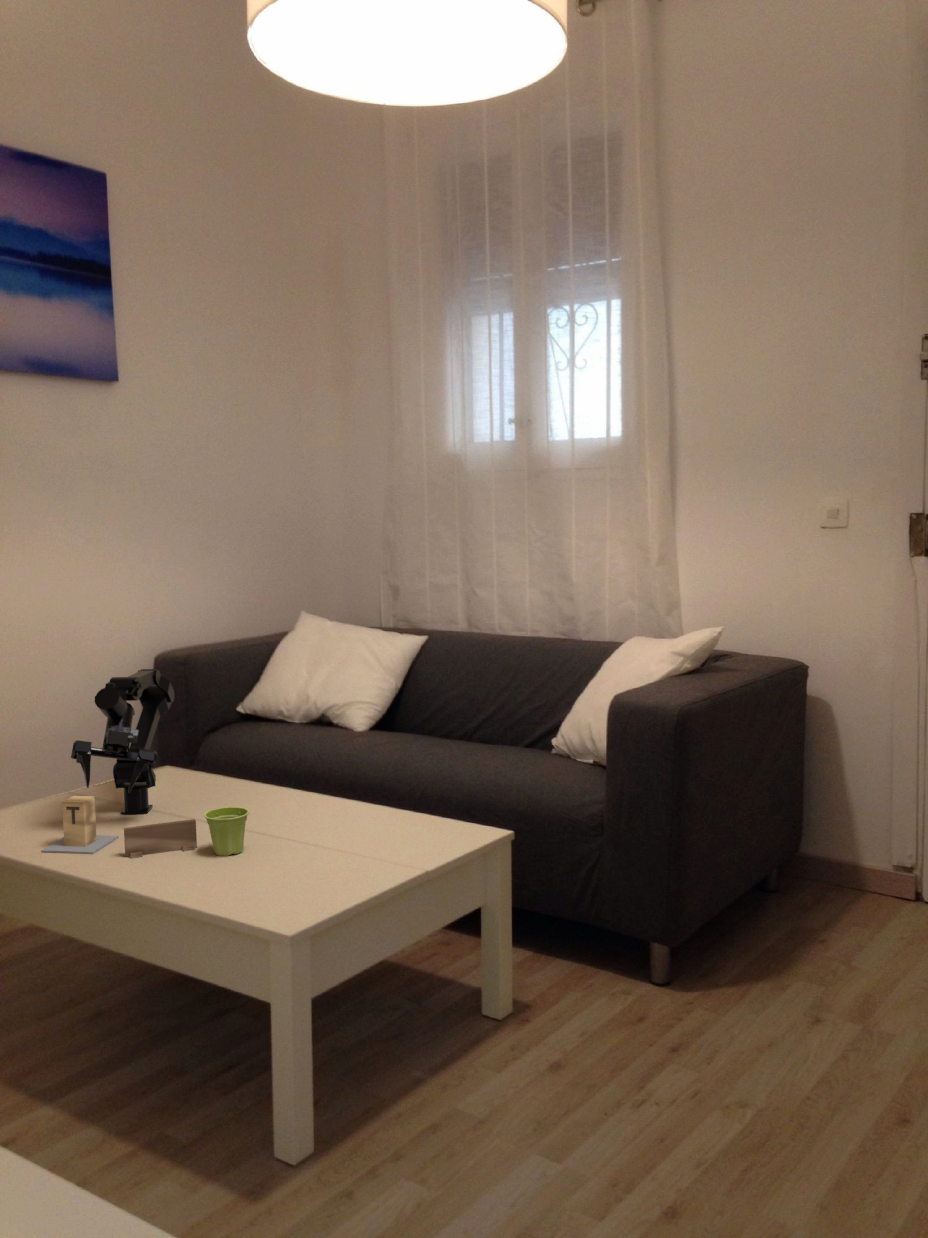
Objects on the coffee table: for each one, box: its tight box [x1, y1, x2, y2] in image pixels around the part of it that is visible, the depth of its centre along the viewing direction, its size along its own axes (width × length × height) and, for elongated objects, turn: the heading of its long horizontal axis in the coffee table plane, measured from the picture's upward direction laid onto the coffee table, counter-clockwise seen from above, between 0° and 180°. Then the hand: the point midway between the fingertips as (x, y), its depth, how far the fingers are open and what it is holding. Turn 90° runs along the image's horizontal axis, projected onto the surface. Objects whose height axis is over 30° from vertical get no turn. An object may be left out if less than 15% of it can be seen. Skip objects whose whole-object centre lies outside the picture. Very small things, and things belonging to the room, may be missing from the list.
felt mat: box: [41, 834, 120, 855], centre depth 248 cm, size 12×12×1 cm
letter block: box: [61, 795, 97, 847], centre depth 247 cm, size 5×5×10 cm
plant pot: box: [203, 806, 250, 857], centre depth 241 cm, size 9×9×9 cm
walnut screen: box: [123, 818, 198, 859], centre depth 242 cm, size 4×15×6 cm, turn 114°
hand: (108, 789), depth 256 cm, fingers open, 9 cm apart
